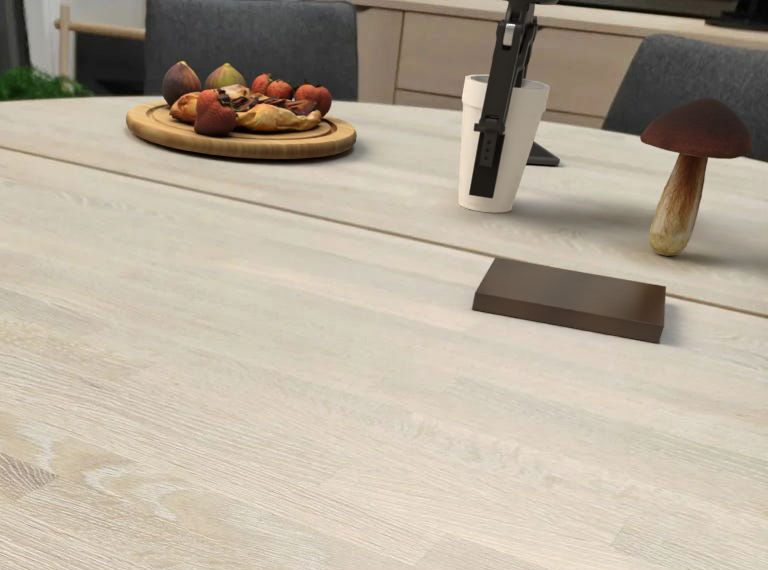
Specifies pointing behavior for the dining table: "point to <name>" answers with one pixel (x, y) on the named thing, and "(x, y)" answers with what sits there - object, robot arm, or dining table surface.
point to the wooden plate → (241, 117)
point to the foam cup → (517, 140)
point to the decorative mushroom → (691, 163)
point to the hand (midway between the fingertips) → (487, 187)
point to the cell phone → (541, 156)
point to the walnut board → (573, 299)
